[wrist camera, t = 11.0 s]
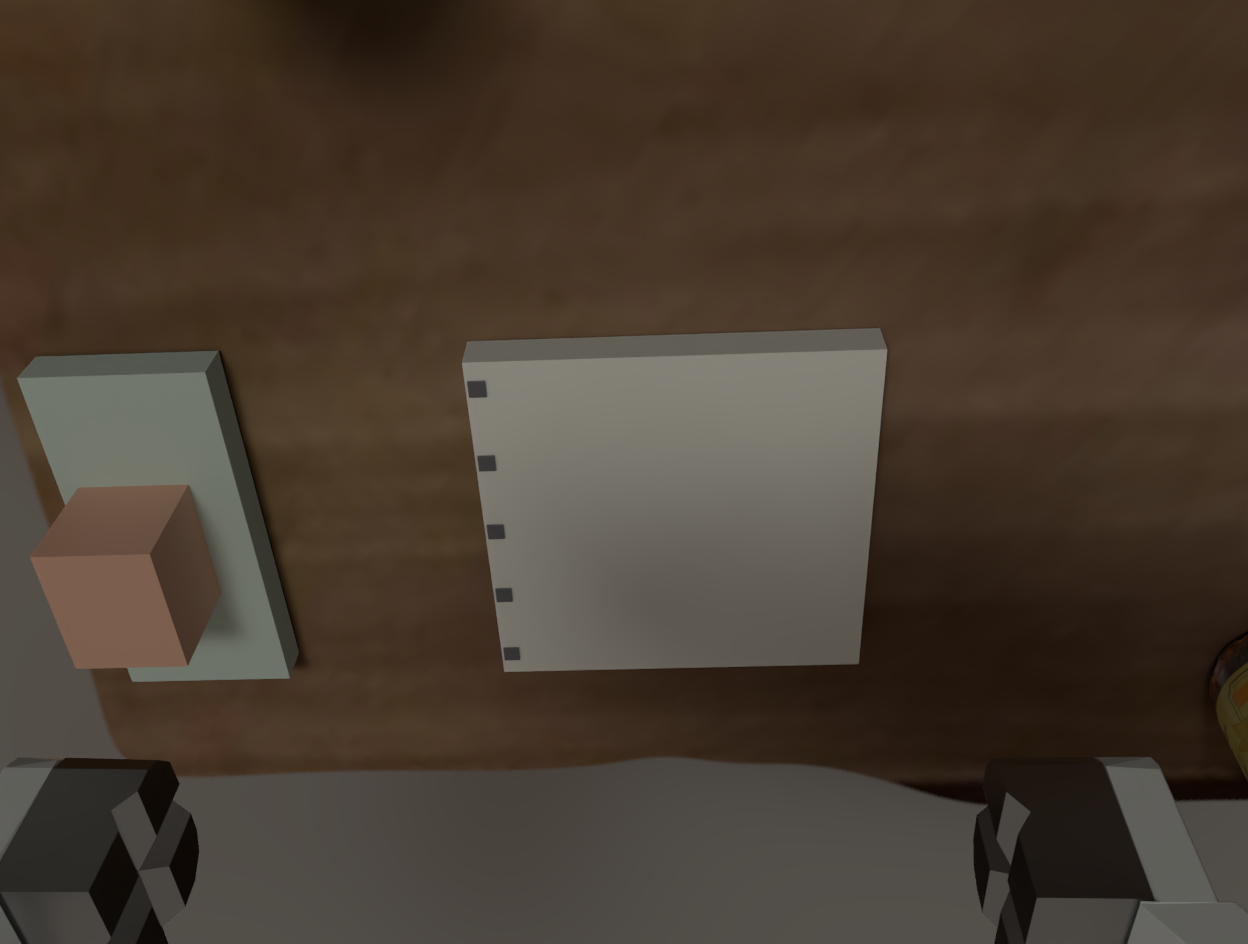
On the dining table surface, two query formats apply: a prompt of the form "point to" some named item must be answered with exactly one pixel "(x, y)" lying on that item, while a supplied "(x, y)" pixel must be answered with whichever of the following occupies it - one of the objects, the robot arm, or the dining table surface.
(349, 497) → the dining table surface
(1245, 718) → the sauce bottle
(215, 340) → the dining table surface
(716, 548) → the board
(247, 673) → the green slab pink block
